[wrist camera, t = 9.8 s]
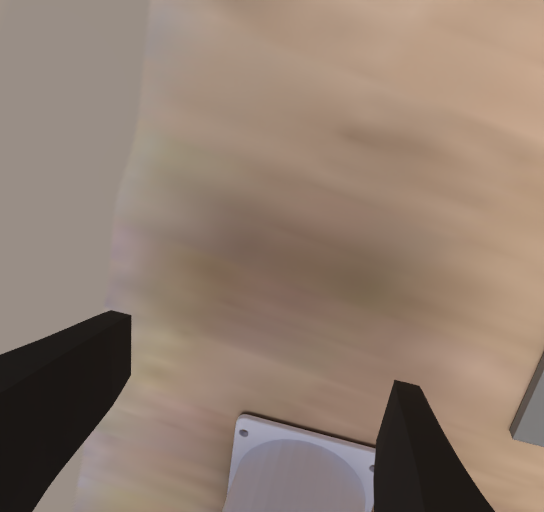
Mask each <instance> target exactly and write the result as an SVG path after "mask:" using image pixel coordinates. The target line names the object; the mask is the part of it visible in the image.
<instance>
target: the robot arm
mask: <svg viewBox="0 0 544 512" xmlns="http://www.w3.org/2000/svg"><path fill="white" fill-rule="evenodd" d="M130 376H131V315H128V314H124V313H120V312H116V311H112V310H111V311H108V312H105V313H102V314H100V315H97V316H95V317H92V318H90V319H88V320H85V321H83V322H81V323H78V324H76V325H74V326H71V327H69V328H67V329H64V330H62V331H59V332H57V333H55V334H52V335H51V336H48V337H45V338H43V339H40V340H38V341H35V342H33V343H30V344H27V345H25V346H22V347H19V348H17V349H14V350H12V351H9V352H6V353H4V354H1V355H0V512H32V511H33V510H34V508H35V507H36V505H37V503H38V502H39V501H40V499H41V498H42V496H43V494H44V493H45V491H46V490H47V488H48V487H49V486H50V484H51V483H52V481H53V480H54V479H55V477H56V476H57V475H58V474H59V472H60V471H61V470H62V468H63V467H64V466H65V465H66V463H67V462H68V461H69V460H70V458H71V457H72V456H73V455H74V453H75V452H76V451H77V450H78V449H79V447H80V446H81V445H82V444H83V442H84V441H85V440H86V439H87V437H88V436H89V435H90V434H91V432H92V431H93V430H94V429H95V427H96V426H97V425H98V424H99V422H100V421H101V420H102V418H103V417H104V416H105V415H106V413H107V412H108V411H109V410H110V408H111V407H112V406H113V404H114V402H115V401H116V399H117V398H118V396H119V394H120V393H121V391H122V389H123V388H124V386H125V384H126V382H127V381H128V379H129V377H130ZM242 429H244V430H246V431H247V432H245V431H243V430H242ZM371 465H374V467H373V466H371ZM373 505H374V512H495V511H494V510H493V508H492V507H491V506H490V504H489V503H488V502H487V500H486V499H485V498H484V496H483V495H482V493H481V492H480V490H479V489H478V488H477V486H476V485H475V483H474V482H473V480H472V478H471V477H470V475H469V474H468V472H467V471H466V469H465V468H464V466H463V464H462V463H461V461H460V460H459V458H458V456H457V455H456V453H455V451H454V449H453V448H452V446H451V444H450V443H449V441H448V439H447V437H446V436H445V434H444V432H443V430H442V428H441V427H440V425H439V423H438V421H437V419H436V417H435V415H434V413H433V411H432V409H431V407H430V405H429V403H428V401H427V399H426V397H425V395H424V393H423V391H422V390H421V388H420V386H417V385H413V384H409V383H405V382H401V381H397V380H394V384H393V387H392V390H391V394H390V397H389V400H388V404H387V407H386V410H385V414H384V417H383V420H382V424H381V427H380V430H379V434H378V437H377V440H376V449H375V448H371V447H368V446H364V445H360V444H356V443H353V442H349V441H345V440H341V439H338V438H334V437H330V436H326V435H323V434H319V433H315V432H311V431H308V430H304V429H300V428H296V427H292V426H289V425H285V424H281V423H277V422H274V421H270V420H266V419H262V418H259V417H255V416H251V415H247V414H243V415H240V416H239V417H238V419H237V422H236V427H235V435H234V443H233V451H232V459H231V467H230V474H229V482H228V490H227V498H226V501H225V504H224V507H223V509H222V512H371V511H372V508H373Z"/></svg>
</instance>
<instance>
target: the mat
mask: <svg viewBox="0 0 544 512" xmlns="http://www.w3.org/2000/svg"><path fill="white" fill-rule="evenodd" d="M510 433H511V436H512V439H514V440H518V441H522V442H526V443H530V444H534V445H538V446H542V447H544V354H543V356H542V358H541V360H540V363H539V365H538V367H537V369H536V372H535V374H534V376H533V378H532V380H531V383H530V385H529V387H528V389H527V392H526V394H525V396H524V398H523V401H522V403H521V405H520V407H519V410H518V412H517V414H516V416H515V419H514V421H513V423H512V425H511V428H510Z"/></svg>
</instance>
